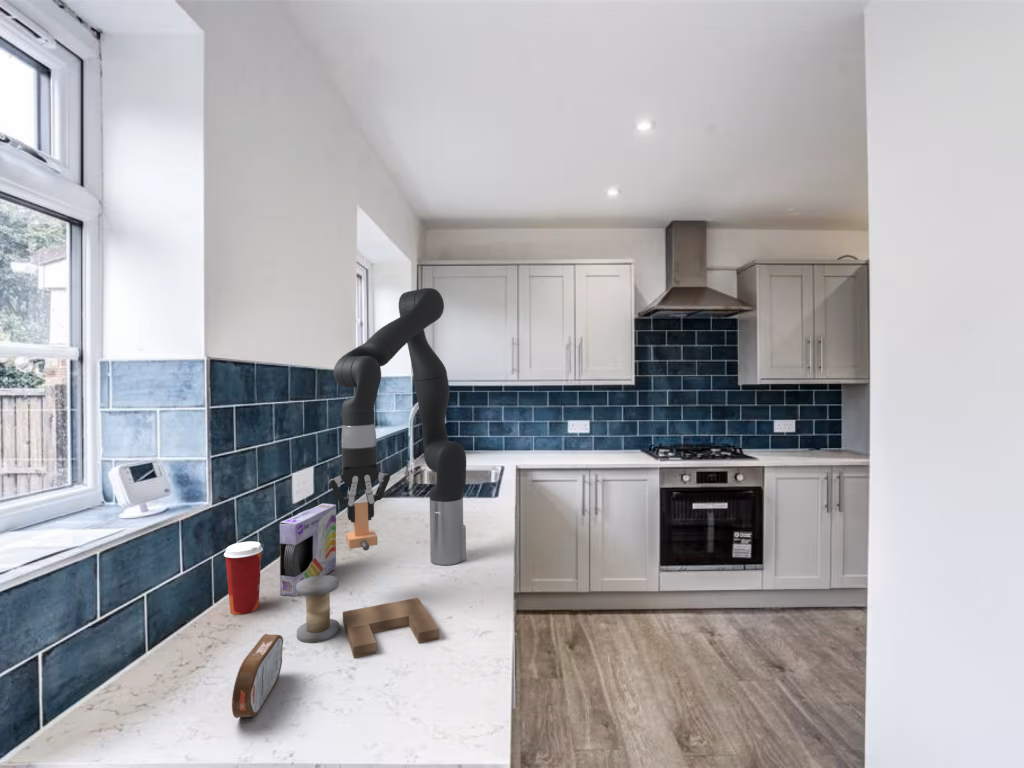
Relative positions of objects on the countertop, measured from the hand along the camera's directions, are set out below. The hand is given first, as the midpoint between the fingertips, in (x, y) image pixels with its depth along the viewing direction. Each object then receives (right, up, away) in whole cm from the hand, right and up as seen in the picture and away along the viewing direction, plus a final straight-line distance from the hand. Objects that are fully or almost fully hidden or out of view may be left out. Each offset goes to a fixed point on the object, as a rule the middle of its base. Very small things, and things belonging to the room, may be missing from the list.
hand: (360, 520), depth 118 cm
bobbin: (-4, -19, -14) cm, 24 cm away
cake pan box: (-17, -19, +12) cm, 28 cm away
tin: (-6, -19, -35) cm, 41 cm away
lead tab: (+1, -5, -2) cm, 6 cm away
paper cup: (-25, -19, -3) cm, 32 cm away
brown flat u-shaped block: (+10, -19, -13) cm, 25 cm away
